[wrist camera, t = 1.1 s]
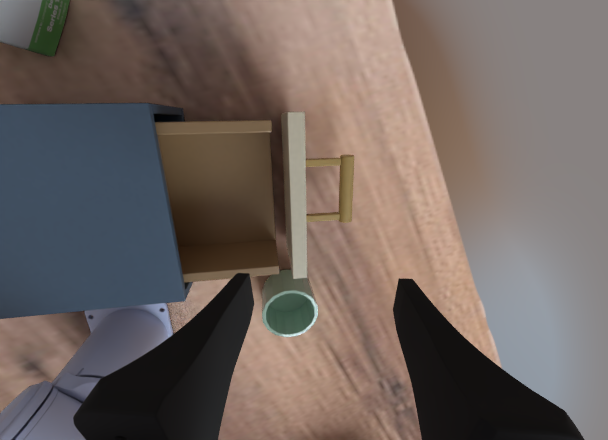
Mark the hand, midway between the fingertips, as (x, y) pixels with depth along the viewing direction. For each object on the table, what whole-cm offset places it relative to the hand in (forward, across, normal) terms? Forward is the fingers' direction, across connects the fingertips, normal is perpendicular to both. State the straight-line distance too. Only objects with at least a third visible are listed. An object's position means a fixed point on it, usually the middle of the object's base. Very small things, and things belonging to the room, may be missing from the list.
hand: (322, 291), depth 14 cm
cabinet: (+12, +19, 0) cm, 23 cm away
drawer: (+14, +7, +1) cm, 16 cm away
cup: (+14, +4, +13) cm, 19 cm away
